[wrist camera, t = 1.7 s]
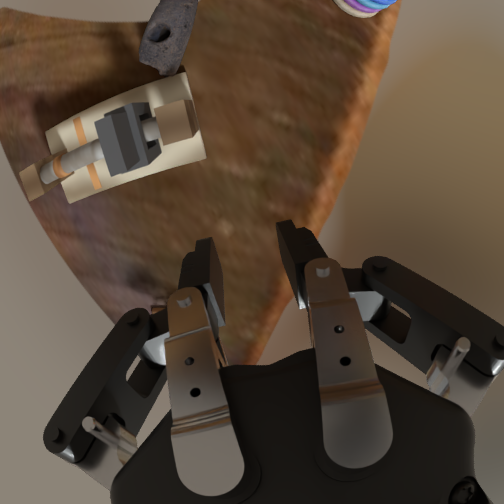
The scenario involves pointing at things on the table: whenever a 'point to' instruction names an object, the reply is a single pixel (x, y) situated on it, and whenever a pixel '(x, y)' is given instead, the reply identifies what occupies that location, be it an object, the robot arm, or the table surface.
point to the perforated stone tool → (168, 35)
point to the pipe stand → (90, 152)
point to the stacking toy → (363, 6)
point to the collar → (126, 138)
